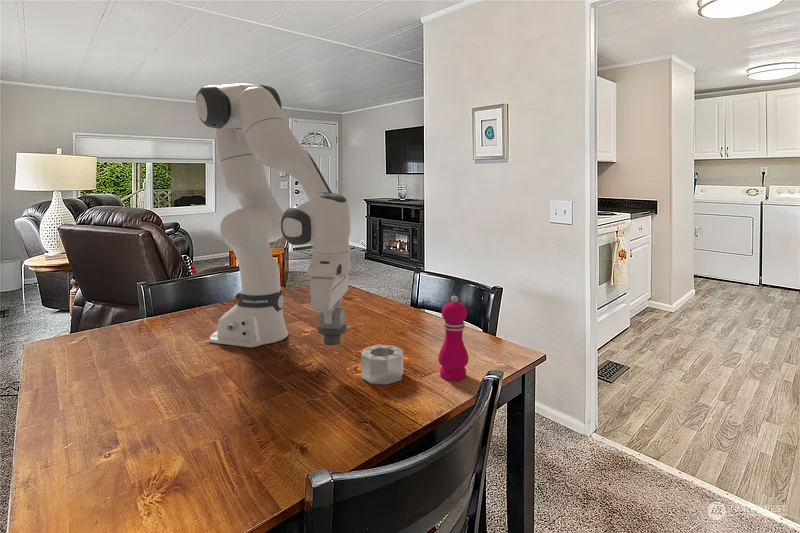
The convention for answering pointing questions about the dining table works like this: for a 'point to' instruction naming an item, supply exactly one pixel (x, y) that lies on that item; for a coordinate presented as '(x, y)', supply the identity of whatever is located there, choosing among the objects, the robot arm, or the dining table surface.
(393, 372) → the grey octagonal nut
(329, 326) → the grey stepped piece
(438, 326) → the dining table surface
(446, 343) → the pepper mill
